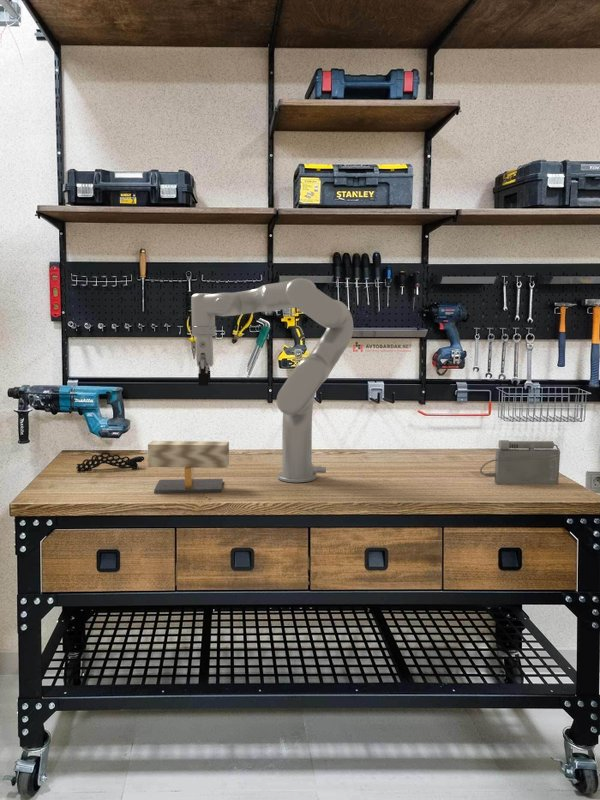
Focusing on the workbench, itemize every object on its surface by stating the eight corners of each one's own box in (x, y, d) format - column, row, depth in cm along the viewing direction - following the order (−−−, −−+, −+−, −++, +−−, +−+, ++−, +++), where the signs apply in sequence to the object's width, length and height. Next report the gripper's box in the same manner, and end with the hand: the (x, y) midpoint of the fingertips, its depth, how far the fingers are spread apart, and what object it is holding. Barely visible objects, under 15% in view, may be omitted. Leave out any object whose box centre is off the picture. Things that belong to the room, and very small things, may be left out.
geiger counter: (556, 438, 217) (478, 438, 217) (564, 442, 211) (484, 442, 210) (554, 481, 219) (477, 481, 219) (562, 486, 212) (482, 486, 212)
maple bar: (229, 463, 212) (228, 441, 211) (226, 467, 206) (226, 445, 205) (153, 462, 213) (152, 440, 212) (148, 466, 207) (147, 444, 206)
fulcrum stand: (222, 481, 217) (222, 460, 216) (221, 492, 205) (220, 469, 204) (159, 482, 216) (159, 461, 215) (154, 493, 204) (153, 470, 203)
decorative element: (76, 473, 228) (75, 456, 227) (77, 469, 233) (76, 453, 232) (144, 470, 233) (143, 453, 232) (144, 466, 238) (144, 450, 237)
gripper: (213, 332, 212) (214, 387, 215) (216, 330, 230) (217, 380, 232) (189, 332, 212) (190, 387, 214) (194, 330, 229) (195, 380, 231)
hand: (204, 383), depth 223 cm, fingers open, 9 cm apart
